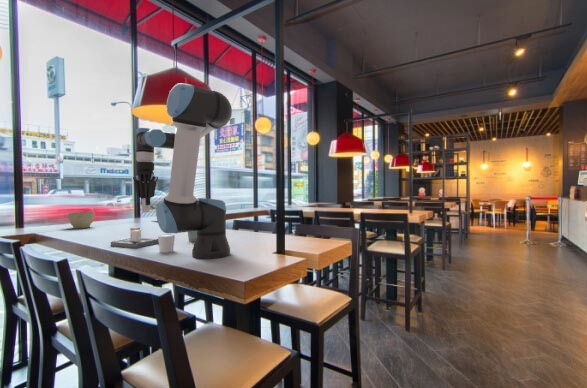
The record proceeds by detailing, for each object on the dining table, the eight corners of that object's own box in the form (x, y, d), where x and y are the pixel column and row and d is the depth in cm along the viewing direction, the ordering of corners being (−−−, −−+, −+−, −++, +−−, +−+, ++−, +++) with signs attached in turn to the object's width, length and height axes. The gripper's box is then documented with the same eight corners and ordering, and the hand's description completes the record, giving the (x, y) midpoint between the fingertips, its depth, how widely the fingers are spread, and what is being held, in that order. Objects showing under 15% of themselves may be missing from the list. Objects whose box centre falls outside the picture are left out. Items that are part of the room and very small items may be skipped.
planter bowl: (77, 226, 221) (76, 211, 221) (99, 226, 222) (99, 211, 222) (61, 229, 205) (61, 213, 205) (86, 229, 206) (85, 213, 206)
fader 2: (141, 240, 144) (141, 230, 143) (136, 241, 141) (136, 230, 141) (135, 240, 145) (135, 229, 145) (130, 241, 142) (130, 230, 142)
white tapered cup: (164, 253, 127) (164, 237, 127) (154, 251, 130) (154, 235, 130) (178, 250, 133) (178, 234, 132) (168, 249, 136) (168, 233, 136)
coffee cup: (198, 242, 153) (197, 219, 152) (182, 242, 154) (182, 218, 154) (206, 240, 161) (206, 217, 161) (191, 239, 163) (191, 217, 162)
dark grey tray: (159, 243, 151) (159, 238, 151) (136, 248, 138) (136, 243, 138) (134, 241, 157) (134, 237, 157) (110, 246, 143) (110, 241, 143)
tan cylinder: (140, 237, 153) (140, 227, 153) (135, 238, 150) (135, 228, 150) (134, 237, 154) (134, 227, 154) (130, 238, 151) (130, 228, 151)
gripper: (162, 162, 142) (163, 212, 142) (140, 163, 146) (141, 211, 146) (150, 160, 135) (150, 213, 135) (127, 161, 139) (128, 212, 139)
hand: (145, 212), depth 141 cm, fingers closed
